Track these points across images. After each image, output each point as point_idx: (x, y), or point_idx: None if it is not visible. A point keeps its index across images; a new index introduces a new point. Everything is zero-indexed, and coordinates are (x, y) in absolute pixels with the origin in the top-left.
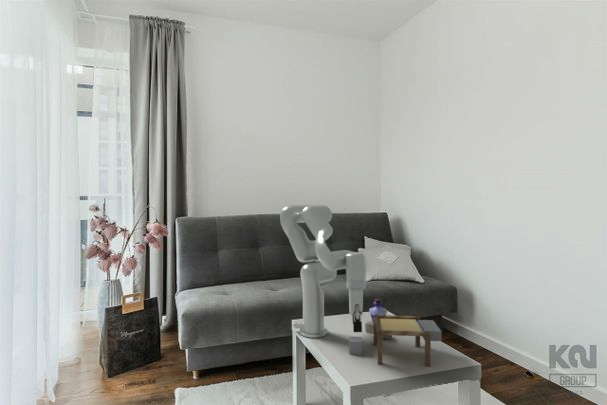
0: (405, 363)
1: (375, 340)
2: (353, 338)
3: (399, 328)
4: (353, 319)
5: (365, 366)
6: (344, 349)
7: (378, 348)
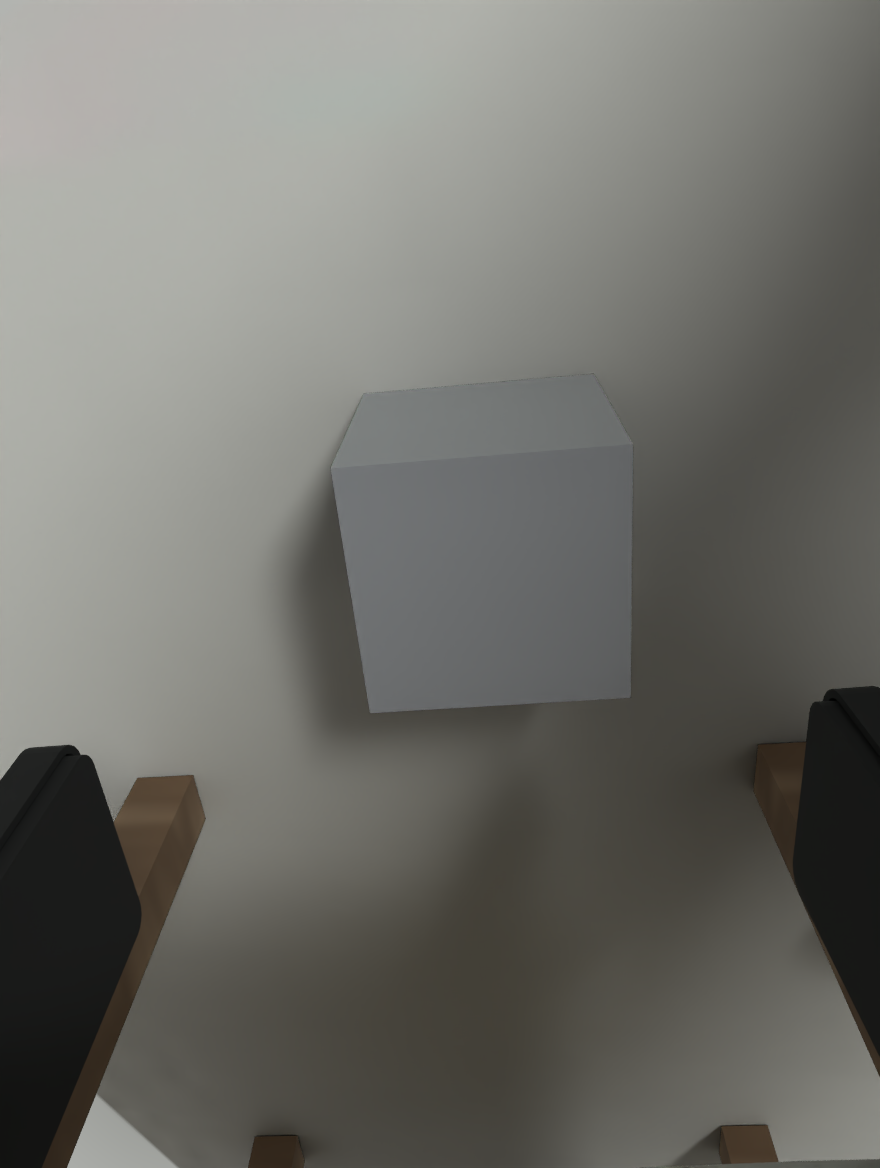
0: (266, 1011)
1: (780, 818)
2: (525, 548)
3: None
4: (869, 803)
5: (16, 639)
6: (547, 289)
7: None
